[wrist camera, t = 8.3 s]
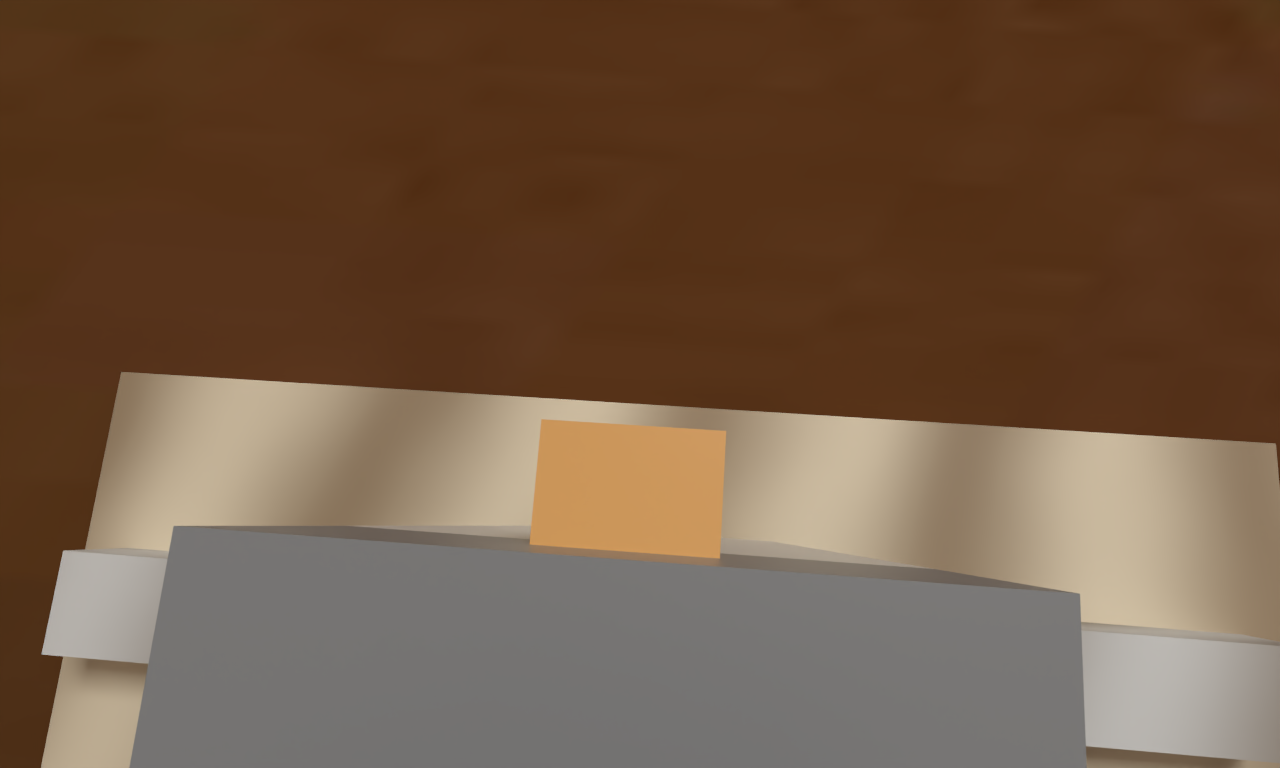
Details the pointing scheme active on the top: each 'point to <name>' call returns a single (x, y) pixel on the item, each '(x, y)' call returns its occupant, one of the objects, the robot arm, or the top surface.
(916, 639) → the breaker module
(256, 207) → the top surface
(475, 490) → the din board
